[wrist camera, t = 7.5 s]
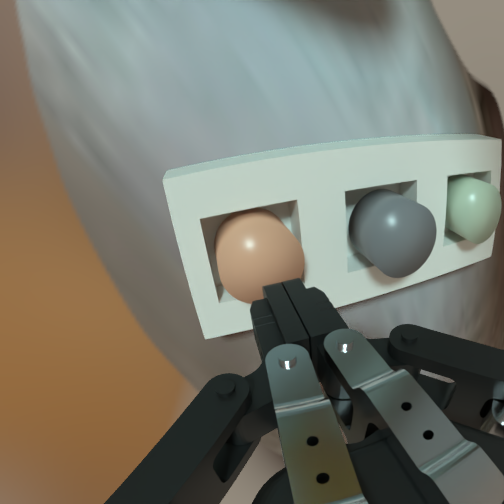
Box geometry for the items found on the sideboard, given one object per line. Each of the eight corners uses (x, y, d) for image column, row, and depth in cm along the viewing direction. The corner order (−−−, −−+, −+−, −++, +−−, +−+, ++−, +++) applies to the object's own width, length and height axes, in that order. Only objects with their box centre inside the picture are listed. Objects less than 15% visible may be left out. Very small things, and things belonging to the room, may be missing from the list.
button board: (167, 170, 18) (162, 180, 15) (475, 133, 20) (501, 139, 18) (202, 312, 22) (205, 339, 19) (469, 243, 24) (491, 256, 22)
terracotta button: (207, 215, 18) (210, 235, 15) (283, 200, 18) (300, 217, 15) (221, 283, 20) (227, 312, 17) (290, 267, 20) (307, 293, 17)
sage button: (437, 176, 20) (467, 187, 17) (474, 171, 20) (503, 181, 17) (434, 232, 21) (461, 249, 18) (471, 223, 22) (497, 237, 19)
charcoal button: (346, 194, 18) (374, 210, 15) (406, 184, 18) (438, 198, 15) (349, 261, 20) (373, 286, 17) (405, 247, 20) (432, 268, 17)
